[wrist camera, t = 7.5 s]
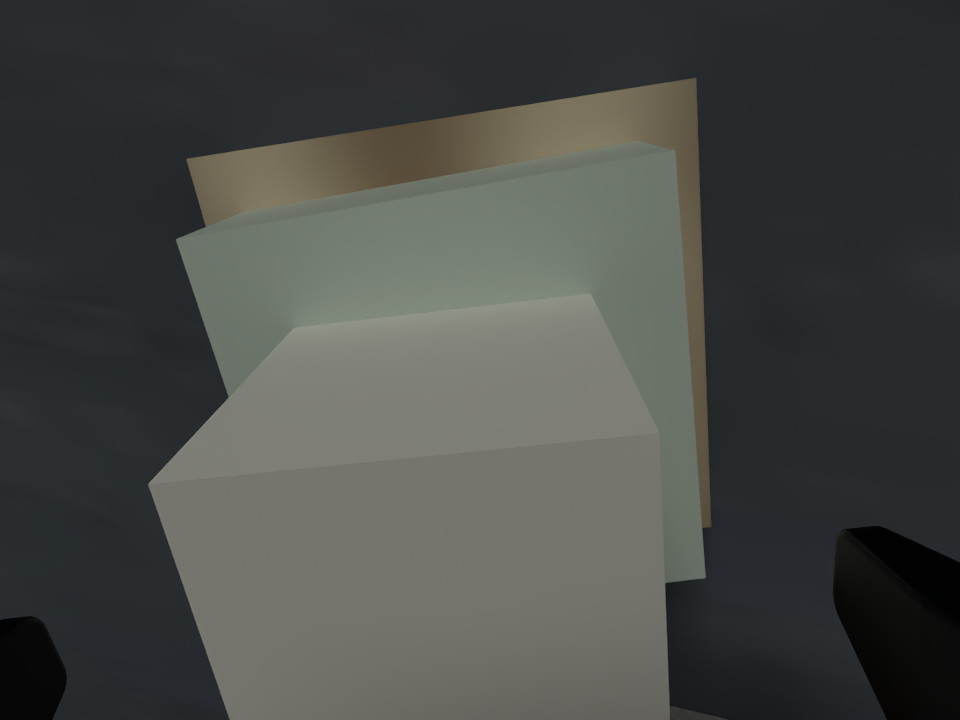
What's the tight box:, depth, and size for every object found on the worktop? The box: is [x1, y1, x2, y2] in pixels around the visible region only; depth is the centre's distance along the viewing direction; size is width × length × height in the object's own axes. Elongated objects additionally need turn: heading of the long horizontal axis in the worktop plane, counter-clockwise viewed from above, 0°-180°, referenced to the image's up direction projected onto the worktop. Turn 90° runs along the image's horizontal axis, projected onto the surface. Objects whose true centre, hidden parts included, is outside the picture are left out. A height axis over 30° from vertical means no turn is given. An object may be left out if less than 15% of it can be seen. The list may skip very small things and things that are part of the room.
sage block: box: [176, 141, 706, 583], centre depth 13 cm, size 8×8×3 cm
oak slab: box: [187, 78, 711, 528], centre depth 16 cm, size 10×10×3 cm
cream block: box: [148, 294, 670, 720], centre depth 10 cm, size 5×5×5 cm
